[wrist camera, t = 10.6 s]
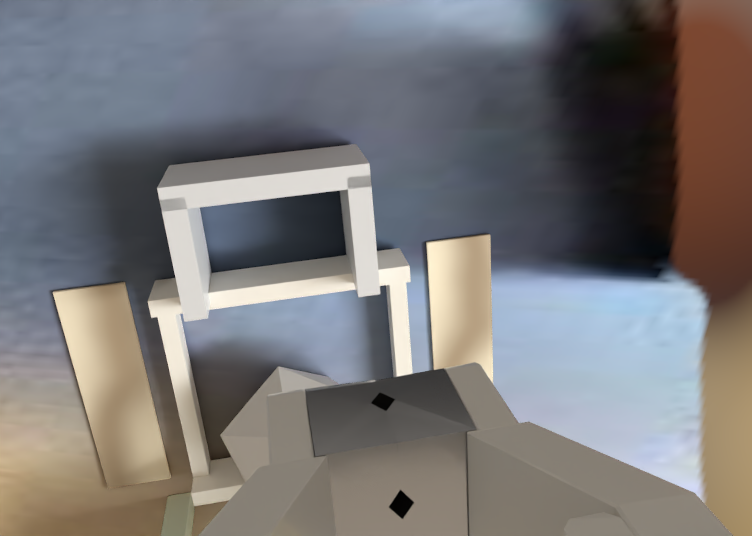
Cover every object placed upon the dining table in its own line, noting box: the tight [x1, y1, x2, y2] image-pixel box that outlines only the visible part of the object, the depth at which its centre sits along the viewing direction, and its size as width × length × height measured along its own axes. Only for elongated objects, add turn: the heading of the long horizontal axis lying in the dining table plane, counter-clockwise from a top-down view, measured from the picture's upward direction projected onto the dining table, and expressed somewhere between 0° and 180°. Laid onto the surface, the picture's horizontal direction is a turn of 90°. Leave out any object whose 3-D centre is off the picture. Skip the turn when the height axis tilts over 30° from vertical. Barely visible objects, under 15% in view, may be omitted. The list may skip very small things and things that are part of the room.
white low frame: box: [148, 144, 412, 506], centre depth 40 cm, size 14×21×5 cm
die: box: [220, 366, 339, 482], centre depth 41 cm, size 8×9×10 cm
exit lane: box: [53, 234, 493, 489], centre depth 44 cm, size 26×14×1 cm, turn 95°
